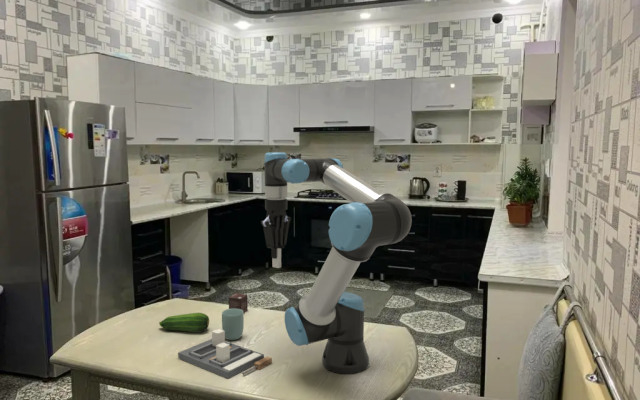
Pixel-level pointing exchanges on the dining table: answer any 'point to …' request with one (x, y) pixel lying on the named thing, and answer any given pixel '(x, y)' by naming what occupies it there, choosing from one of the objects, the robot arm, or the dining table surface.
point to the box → (238, 302)
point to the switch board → (206, 359)
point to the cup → (233, 323)
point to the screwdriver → (260, 364)
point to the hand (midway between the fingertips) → (276, 267)
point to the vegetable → (186, 322)
